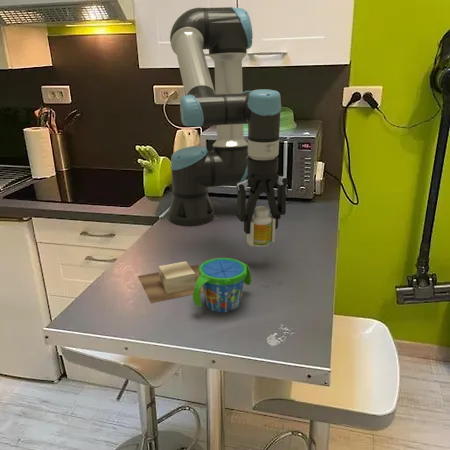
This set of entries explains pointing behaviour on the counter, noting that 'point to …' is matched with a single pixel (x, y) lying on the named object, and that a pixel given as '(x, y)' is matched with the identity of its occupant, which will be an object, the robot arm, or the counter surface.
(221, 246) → the counter surface
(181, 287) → the birch block
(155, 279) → the board
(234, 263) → the snack cup
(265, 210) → the supplement bottle
